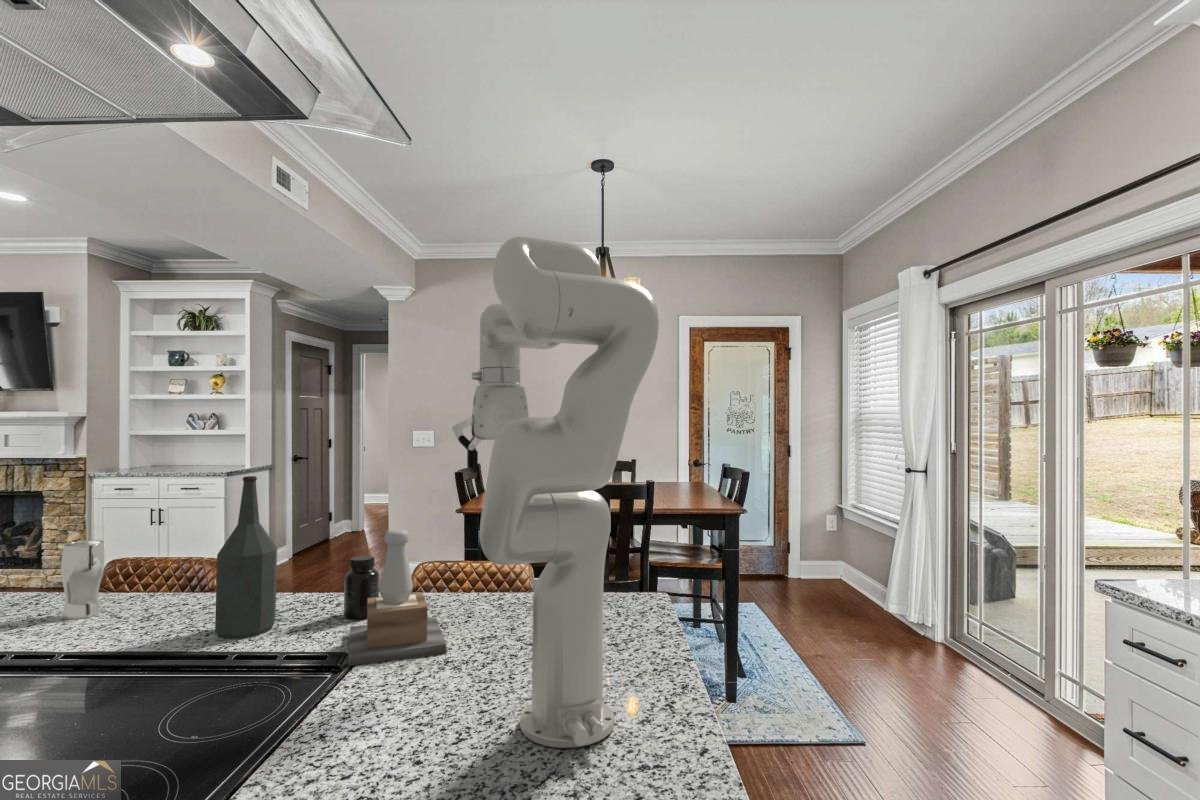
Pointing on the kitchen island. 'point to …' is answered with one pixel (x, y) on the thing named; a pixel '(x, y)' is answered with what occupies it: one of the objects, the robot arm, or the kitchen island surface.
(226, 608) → the bottle
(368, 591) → the supplement bottle
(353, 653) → the plinth
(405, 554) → the salt shaker
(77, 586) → the beer glass
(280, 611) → the kitchen island surface
